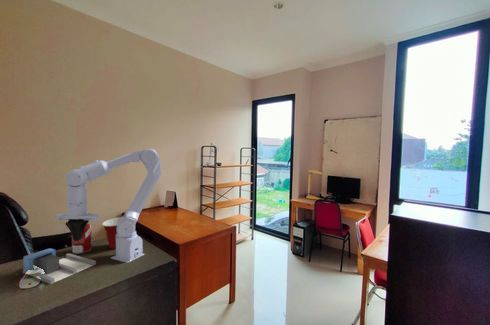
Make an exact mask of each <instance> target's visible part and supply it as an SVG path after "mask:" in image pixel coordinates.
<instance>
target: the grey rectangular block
mask: <svg viewBox="0 0 490 325" xmlns="http://www.w3.org/2000/svg"><path fill="white" fill-rule="evenodd" d="M59 260H60V257H59V256H57V255H56V256H55V255H52V254H47V255H44V256H41V257H38V258H35V259H33V265H35V266H37V267H39V268H41V269H43V270H44V272H45V274H50V273H53V272H55V271H58V270H59Z"/></svg>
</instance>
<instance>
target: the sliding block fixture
mask: <svg viewBox="0 0 490 325" xmlns="http://www.w3.org/2000/svg"><path fill="white" fill-rule="evenodd" d="M56 252H57V251H56V249H54V248H46V249H44V250H40V251H37V252H33V253H30V254H27V255H24V256H23V269H22V274H24V273H26V272H27V271H28V270H32V269H33V259H35V258H38V257H41V256H44V255H47V254H52V255H55V256H57V255H56V254H57V253H56ZM96 264H97V261H96V260H94V259H91V258H86V257H84V256H83V257H82V256H79V255H78V254H74V253H66V254H65V257H63V258H59V270H58V271H55V272H53V273H50V274H41V273H39V274H38V276H39V277H40V278H41V280H40V281H41V282H45V283H47V284H50V285H51V284H54V283H56V282H58V281H61V280H64V279H65V278H68V277H71V276H73V275H75V274H77V273H79V272H81V271H84V270H86V269H89V268H91V267H93V266H95V265H96Z"/></svg>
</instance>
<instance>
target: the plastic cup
mask: <svg viewBox="0 0 490 325" xmlns="http://www.w3.org/2000/svg"><path fill="white" fill-rule="evenodd" d="M121 217H122V216H121ZM121 217H114V218H111V219H107V220H105V221H103V222H102V223H101V225H102V227H104V230H105V234H106V237H107V238H106V239H107V242H108V246H109V249H110V250H116V234H117V226H118V224H117V223H118V220H119V219H120V218H121Z"/></svg>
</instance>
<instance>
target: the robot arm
mask: <svg viewBox="0 0 490 325" xmlns="http://www.w3.org/2000/svg"><path fill="white" fill-rule="evenodd" d="M140 162H141V163H142V164H143V165H144V166H145V169H146V172H147V174H146V176H145V178H144V179H143V182H142V184H141V186H140V187H139V189H138V191H137V192H136V194H135V195H134V197H133V199H132V202H130V205H129V207H128V208H127V209H126V211H125V212H124V214H123V215H121V218H120V217H119V218H120V219H119V220H118V223H117V224H118V226H117V234H116V249H115V255H113V256H111V257H110V259H112V260H116V261H120V262H123V263H131V262H132V261H134V260H136V259H138V258H140V257H142V256H144V255H145V253H143V251H144V250H143V248H144V247H143V244H144V243H143V242H144V241H143V238H142V237H141V236H139V235H138V234H137V230H136V224H137V222H138V220H139V216H140V214H141V212H142V211H143V208H144V207H145V204H146V203H147V201H148V199H149V197H150V196H151V194H152V192H153V190H154V188H155V186H156V185H157V183H158V181H159V180H160V178H161V175H162V168H161V158H160V155H159V154H158V153H157V151H156V150H155V149H153V148H146V149H143V150H135V151H132V152H129V153H126V154H124V155H121V156H119V157H116V158H113V159H111V160H108V161H105V160H98V159H96V160H93V162H92V163H89V164H87V165H84V166H83V165H80V166H78V168H77V169H72V170H70V171H68V172H67V173H66V174H65V179H64V180H65V183H66V184H67V186H66V187H67V190H66V203H67V205H66V209H67V210H66V211H67V213H58V214H55V220H56V221H61V220H62V221H67V222H65V226H66V227H67V228H68V230H69V231H70V234H71V237H72V236H73V239H74V241H78V240H80V239H82V235H83V232H84V229H85V227H86V225H87V223H88V222H90V221H92V222H96V221H98V220H99V219H100V218H99V214H97V213H89V212H88V198H87V194H88V193H87V192H88V191H87V183H86V182H92V181H93V180H96V179H99V178H101V177H104V176H106V175H108V174H109V173H110V171H111V170H112V169H115V168H117V167H120V166H121V167H122V166H123V165H126V164H129V163H140Z"/></svg>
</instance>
